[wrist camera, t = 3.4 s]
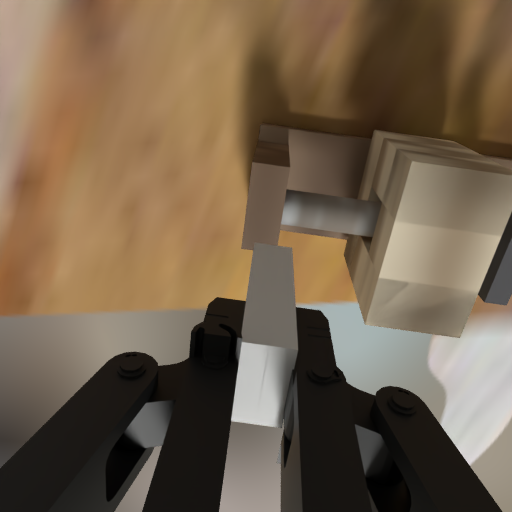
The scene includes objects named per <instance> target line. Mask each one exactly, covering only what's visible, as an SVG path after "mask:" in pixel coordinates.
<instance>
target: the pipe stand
mask: <svg viewBox="0 0 512 512" xmlns="http://www.w3.org/2000/svg"><path fill="white" fill-rule="evenodd" d="M371 140H372V139H370V138H363V137H356V136H349V135H342V134H335V133H328V132H321V131H314V130H307V129H300V128H293V127H286V126H279V125H272V124H265V123H261V125H260V132H259V140H258V144H257V147H256V151H255V154H254V158H253V162H252V169H251V177H250V185H249V192H248V200H247V208H246V216H245V224H244V232H243V240H242V248H241V249H248V250H254V243H262V244H269V245H276V246H277V245H278V239H279V233H280V230H283V231H290V232H297V233H304V234H311V235H318V236H325V237H332V238H339V239H346V240H348V235H349V234H354V235H361V236H368V237H373V235H374V231H375V227H376V223H377V220H378V216H379V212H380V209H381V205H382V203H381V202H374V201H367V200H360V199H357V198H358V194H359V190H360V186H361V182H362V178H363V173H364V169H365V165H366V161H367V157H368V153H369V149H370V144H371ZM480 155H482V154H480ZM482 156H484V157H486V158H488V159H490V160H492V161H494V162H496V163H498V164H500V165H502V166H504V167H506V168H508V169H510V170H512V159H510V158H503V157H496V156H489V155H482Z"/></svg>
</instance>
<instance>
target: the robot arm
mask: <svg viewBox="0 0 512 512" xmlns="http://www.w3.org/2000/svg"><path fill="white" fill-rule="evenodd" d="M283 419H284V432H283V436H282V441H281V446H280V450H279V455H278V460H277V463H280V464H281V512H502V510H501V509H500V508H499V506H498V505H497V503H496V502H495V501H494V499H493V498H492V496H491V495H490V494H489V492H488V491H487V489H486V488H485V487H484V485H483V484H482V482H481V481H480V480H479V479H478V477H477V475H476V474H475V473H474V471H473V470H472V469H471V467H470V466H469V464H468V463H467V461H466V460H465V459H464V457H463V456H462V454H461V453H460V452H459V450H458V449H457V447H456V446H455V445H454V443H453V442H452V440H451V439H450V438H449V436H448V435H447V433H446V432H445V431H444V429H443V428H442V426H441V425H440V424H439V422H438V421H437V419H436V418H435V417H434V415H433V414H432V412H431V411H430V410H429V408H428V407H427V405H426V404H425V403H424V402H423V401H422V400H421V399H420V398H419V397H418V396H417V395H415V394H414V393H412V392H410V391H408V390H406V389H403V388H400V387H393V386H388V387H383V388H381V389H380V390H379V391H377V392H376V395H372V394H369V393H366V392H364V391H361V390H359V389H357V388H355V387H353V386H351V385H350V384H348V383H347V382H346V378H345V376H344V374H343V372H342V371H341V370H340V369H339V368H338V367H337V366H336V361H335V356H334V350H333V345H332V340H331V333H330V328H329V322H328V319H327V318H326V317H325V316H324V315H323V313H322V312H321V311H319V310H312V309H305V308H297V307H296V305H295V288H294V271H293V254H292V248H290V247H283V246H276V245H269V244H262V243H254V250H253V257H252V264H251V270H250V277H249V284H248V291H247V298H246V301H240V300H233V299H226V298H219V297H217V298H215V299H214V300H213V301H212V302H211V303H210V304H209V305H208V308H207V311H206V315H205V318H204V322H201V323H200V324H198V325H196V326H195V327H194V328H193V330H192V331H191V341H190V355H189V358H188V359H186V360H185V361H182V362H180V363H177V364H171V365H163V366H158V363H157V362H156V360H155V359H154V358H153V357H151V356H149V355H147V354H145V353H140V352H126V353H123V354H120V355H117V356H115V357H113V358H112V359H110V360H109V361H108V362H107V363H106V364H105V365H104V366H103V367H102V368H101V369H100V370H99V371H98V372H97V373H96V374H95V375H94V376H93V377H92V378H91V379H90V380H89V381H88V382H87V383H86V384H85V385H83V387H81V389H80V390H78V391H77V392H76V393H75V394H74V396H73V397H71V398H70V400H68V401H67V402H66V404H65V405H63V407H61V409H59V411H57V412H56V413H55V415H53V416H52V417H51V418H50V420H48V422H46V424H44V425H43V426H42V427H41V428H40V429H39V430H38V431H37V432H36V433H35V434H34V435H33V436H32V437H31V438H30V439H29V441H27V442H26V443H25V444H24V445H23V446H22V447H21V448H20V449H19V450H18V451H17V452H16V453H15V454H14V455H13V456H12V457H11V458H10V459H9V460H8V461H7V462H6V463H5V464H4V465H3V466H2V467H1V468H0V512H114V511H115V510H116V508H117V506H118V505H119V503H120V502H121V500H122V499H123V497H124V496H125V494H126V492H127V491H128V489H129V488H130V486H131V485H132V483H133V481H134V480H135V478H136V477H137V475H138V474H139V472H140V471H141V469H142V468H143V466H144V464H145V463H146V461H147V460H148V458H149V457H150V455H151V453H152V451H153V449H154V447H155V446H162V448H161V451H160V455H159V458H158V461H157V465H156V468H155V471H154V475H153V478H152V481H151V484H150V487H149V491H148V494H147V497H146V501H145V504H144V507H143V510H142V512H219V507H220V499H221V491H222V484H223V477H224V470H225V462H226V455H227V447H228V440H229V431H230V425H231V421H236V422H243V423H250V424H258V425H265V426H272V427H280V428H282V423H283Z"/></svg>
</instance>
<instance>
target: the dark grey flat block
mask: <svg viewBox="0 0 512 512" xmlns="http://www.w3.org/2000/svg"><path fill="white" fill-rule="evenodd" d="M511 294H512V212H511V215H510V217H509V219H508V222H507V224H506V227H505V229H504V232H503V234H502V237H501V239H500V241H499V244H498V246H497V249H496V251H495V254H494V256H493V259H492V261H491V263H490V266H489V268H488V271H487V273H486V276H485V278H484V280H483V283H482V285H481V288H480V290H479V293H478V295H479V296H480V297H481V299H482V300H483V301H484V302H486V303H493V304H500V305H507V303H508V301H509V299H510V297H511Z"/></svg>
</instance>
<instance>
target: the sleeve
mask: <svg viewBox="0 0 512 512" xmlns="http://www.w3.org/2000/svg"><path fill="white" fill-rule="evenodd" d="M357 199H360V200H367V201H374V202H381V203H382V205H381V209H380V212H379V216H378V220H377V223H376V227H375V231H374V235H373V237H368V236H361V235H354V234H349V235H348V240H347V244H346V248H345V252H344V257H345V260H346V263H347V267H348V270H349V273H350V277H351V280H352V283H353V287H354V290H355V293H356V296H357V300H358V303H359V306H360V310H361V313H362V316H363V319H364V322H365V325H372V326H379V327H386V328H393V329H400V330H408V331H414V332H421V333H428V334H435V335H442V336H449V337H457V338H460V337H461V334H462V332H463V329H464V327H465V324H466V322H467V319H468V317H469V315H470V312H471V310H472V307H473V305H474V302H475V300H476V298H477V295H478V293H479V290H480V288H481V285H482V283H483V280H484V278H485V276H486V273H487V271H488V268H489V266H490V263H491V261H492V259H493V256H494V254H495V251H496V249H497V246H498V244H499V241H500V239H501V237H502V234H503V232H504V229H505V227H506V224H507V222H508V219H509V217H510V215H511V212H512V170H510V169H508V168H506V167H504V166H502V165H500V164H498V163H496V162H494V161H492V160H490V159H488V158H486V157H484V156H482V155H480V154H479V153H477V152H475V151H473V150H471V149H469V148H467V147H465V146H463V145H461V144H459V143H457V142H455V141H450V140H443V139H436V138H429V137H422V136H415V135H408V134H401V133H394V132H387V131H380V130H374V132H373V136H372V140H371V144H370V149H369V153H368V157H367V161H366V165H365V169H364V173H363V178H362V182H361V186H360V190H359V194H358V198H357Z"/></svg>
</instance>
